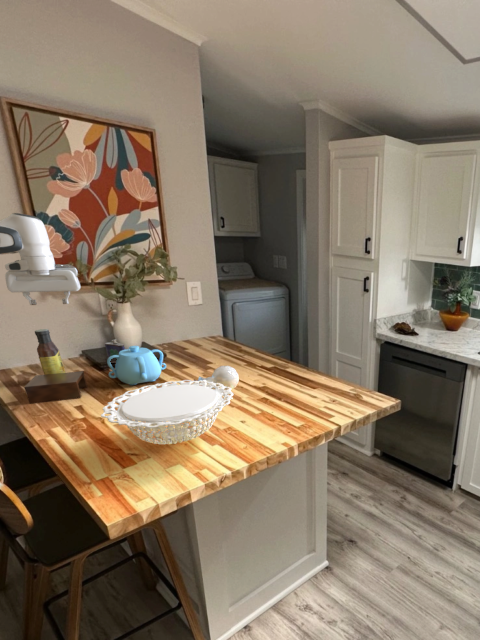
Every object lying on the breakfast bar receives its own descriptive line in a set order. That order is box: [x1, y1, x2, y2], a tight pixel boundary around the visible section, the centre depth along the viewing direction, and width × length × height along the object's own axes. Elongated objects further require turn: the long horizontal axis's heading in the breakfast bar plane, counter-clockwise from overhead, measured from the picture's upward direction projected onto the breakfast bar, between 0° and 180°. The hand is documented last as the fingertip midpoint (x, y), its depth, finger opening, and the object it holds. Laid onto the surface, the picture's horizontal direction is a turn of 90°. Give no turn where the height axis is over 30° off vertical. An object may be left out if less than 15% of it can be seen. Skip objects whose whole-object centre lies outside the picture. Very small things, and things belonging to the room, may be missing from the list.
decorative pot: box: [106, 345, 167, 386], centre depth 156 cm, size 16×16×14 cm
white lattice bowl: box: [100, 379, 235, 446], centre depth 113 cm, size 32×32×13 cm
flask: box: [104, 338, 126, 359], centre depth 173 cm, size 9×3×11 cm, turn 74°
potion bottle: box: [193, 365, 240, 391], centre depth 149 cm, size 9×10×15 cm
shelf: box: [23, 370, 88, 405], centre depth 142 cm, size 14×12×6 cm
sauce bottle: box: [34, 328, 66, 375], centre depth 150 cm, size 6×6×20 cm
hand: (50, 304), depth 147 cm, fingers open, 8 cm apart
